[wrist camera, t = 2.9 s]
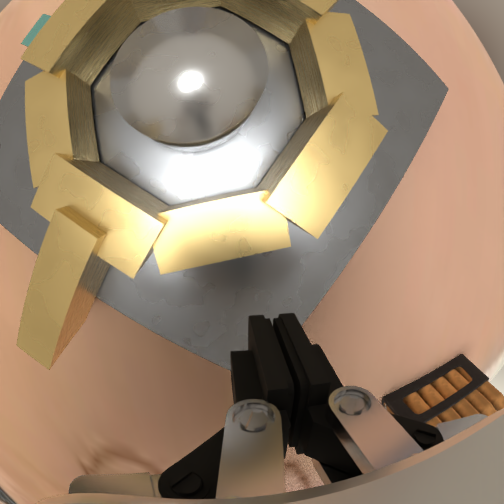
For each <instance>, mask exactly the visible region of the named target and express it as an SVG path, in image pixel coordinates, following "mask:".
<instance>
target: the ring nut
mask: <svg viewBox="0 0 504 504" xmlns="http://www.w3.org/2000/svg"><path fill="white" fill-rule="evenodd" d="M338 1H339V0H65V1H64V2H63V3H62V4H61V5H60V7H59V8H58V9H57V10H56V11H55V12H54V14H53V15H52V16H51V17H50V18H49V20H48V21H47V22H46V23H45V25H44V26H43V27H42V29H41V30H40V31H39V33H38V34H37V35H36V37H35V38H34V39H33V41H32V42H31V44H30V45H29V46H28V48H27V49H26V51H25V52H24V54H23V55H22V57H21V59H22V60H24V61H26V62H28V63H30V64H32V65H33V66H35V67H37V68H39V69H41V70H43V71H42V72H41V73H39V74H37V75H35V76H33V77H32V78H30V79H28V80H26V81H25V117H26V133H27V145H28V154H29V162H30V169H31V176H32V182H33V188H38V189H37V192H36V194H35V197H34V199H33V202H32V204H31V208H32V209H34V210H35V211H36V212H38V213H39V214H40V215H41V216H43V217H44V218H45V219H47V220H48V221H49V222H50V224H49V226H48V229H47V232H46V234H45V237H44V240H43V243H42V245H41V248H40V251H39V254H38V257H37V260H36V264H35V267H34V270H33V274H32V277H31V281H30V284H29V288H28V292H27V296H26V300H25V304H24V308H23V313H22V317H21V322H20V328H19V333H18V339H17V346H18V347H19V348H20V349H22V350H23V351H24V352H26V353H27V354H28V355H30V356H31V357H32V358H34V359H35V360H36V361H38V362H39V363H40V364H42V365H43V366H45V367H46V368H47V369H49V370H50V368H51V367H52V366H53V364H54V363H55V361H56V360H57V358H58V357H59V356H60V354H61V353H62V351H63V350H64V349H65V347H66V346H67V345H68V343H69V342H70V341H71V339H72V338H73V337H74V335H75V334H76V333H77V331H78V330H79V329H80V327H81V326H82V325H83V323H84V322H85V321H86V318H87V316H88V313H89V311H90V309H91V306H92V304H93V302H94V299H95V297H96V295H97V293H98V290H99V288H100V286H101V284H102V282H103V279H104V277H105V275H106V273H107V271H108V269H109V267H110V265H112V266H114V267H115V268H117V269H118V270H120V271H121V272H123V273H125V274H126V275H128V276H129V277H131V278H133V279H134V277H135V276H136V275H137V273H138V272H139V270H140V269H141V268H142V266H143V265H144V264H145V262H146V261H147V260H148V258H149V257H150V256H151V255H152V253H153V252H154V253H155V257H156V260H157V264H158V267H159V271H160V274H166V273H171V272H175V271H180V270H185V269H189V268H194V267H199V266H203V265H208V264H212V263H217V262H222V261H226V260H231V259H236V258H240V257H245V256H250V255H254V254H259V253H263V252H268V251H273V250H277V249H282V248H287V247H291V243H290V236H289V230H288V223H287V220H288V221H289V222H291V223H292V224H294V225H295V226H297V227H299V228H300V229H302V230H304V231H305V232H307V233H308V234H310V235H312V236H313V237H315V238H316V239H318V238H319V237H320V235H321V234H322V232H323V231H324V229H325V228H326V226H327V225H328V223H329V222H330V221H331V219H332V218H333V216H334V215H335V213H336V212H337V210H338V209H339V207H340V206H341V204H342V203H343V201H344V200H345V198H346V197H347V195H348V193H349V192H350V190H351V189H352V187H353V186H354V184H355V183H356V181H357V180H358V178H359V177H360V175H361V173H362V172H363V170H364V169H365V167H366V166H367V164H368V162H369V161H370V159H371V158H372V156H373V154H374V153H375V151H376V150H377V148H378V146H379V145H380V143H381V142H382V140H383V138H384V137H385V135H386V133H387V132H388V130H387V129H386V128H385V127H384V126H383V125H382V124H381V123H380V122H379V121H377V120H376V119H375V118H374V116H377V115H379V114H378V109H377V105H376V100H375V96H374V92H373V88H372V84H371V80H370V76H369V72H368V69H367V65H366V61H365V58H364V55H363V51H362V48H361V45H360V42H359V39H358V36H357V33H356V30H355V27H354V24H353V21H352V19H351V16H350V14H346V13H336V12H330V10H331V9H332V8H333V7H334V5H335V4H336V3H337V2H338ZM217 6H222V7H224V8H226V9H228V10H230V11H232V12H234V13H236V14H238V15H240V16H242V17H243V18H245V19H247V20H249V21H251V22H253V23H254V24H256V25H258V26H260V27H261V28H263V29H265V30H267V31H268V32H270V33H272V34H273V35H275V36H277V37H278V38H280V39H281V40H283V41H285V42H286V43H288V44H289V47H290V50H291V54H292V58H293V62H294V66H295V70H296V74H297V78H298V83H299V87H300V91H301V96H302V100H303V105H304V110H305V114H306V119H305V120H304V122H303V123H302V125H301V126H300V127H299V129H298V130H297V132H296V133H295V134H294V136H293V137H292V139H291V140H290V141H289V143H288V144H287V146H286V147H285V148H284V150H283V151H282V153H281V154H280V155H279V157H278V158H277V160H276V161H275V163H274V164H273V165H272V167H271V168H270V170H269V171H268V173H267V174H266V175H265V177H264V178H263V180H262V181H261V183H260V184H259V186H258V187H256V188H251V189H246V190H241V191H236V192H231V193H226V194H221V195H216V196H212V197H207V198H202V199H198V200H193V201H189V202H185V203H180V204H176V205H172V206H168V205H167V204H165V203H163V202H162V201H160V200H159V199H157V198H156V197H154V196H152V195H151V194H149V193H148V192H146V191H145V190H143V189H141V188H140V187H138V186H137V185H135V184H134V183H132V182H130V181H129V180H127V179H126V178H124V177H123V176H121V175H119V174H118V173H116V172H115V171H113V170H112V169H110V168H109V167H107V166H105V165H104V164H102V163H101V162H100V161H99V155H98V149H97V143H96V136H95V128H94V120H93V112H92V102H91V90H90V85H91V84H92V82H93V81H94V79H95V78H96V77H97V75H98V74H99V72H100V71H101V70H102V68H103V67H104V66H105V64H106V63H107V62H108V60H109V59H110V58H111V57H112V55H113V54H114V53H115V51H116V50H117V49H118V48H119V47H120V45H121V44H122V43H123V42H124V41H125V39H126V38H127V37H128V36H129V35H130V34H131V33H132V31H133V30H134V29H135V28H136V27H137V26H138V25H139V24H140V23H141V22H144V21H148V20H150V19H152V18H153V17H155V16H157V15H160V14H162V13H165V12H167V11H171V10H174V9H178V8H185V7H209V8H210V7H217Z"/></svg>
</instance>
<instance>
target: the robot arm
mask: <svg viewBox="0 0 504 504" xmlns="http://www.w3.org/2000/svg"><path fill="white" fill-rule="evenodd" d="M230 361H231V380H232V391H233V400H234V405H232V407H231V408H230V409H229V410H228V412H227V415H226V421H225V427H224V428H222V429H221V430H220V431H219V432H217V433H216V434H215V435H214V436H212V437H211V438H210V439H208V440H207V441H206V442H204V443H203V444H202V445H200V446H199V447H198V448H196V449H195V450H194V451H192V452H191V453H189V454H188V455H187V456H185V457H184V458H182V459H181V460H180V461H178V462H177V463H175V464H174V465H172V466H171V467H169V468H168V469H167V470H166V471H164V472H163V473H162V474H158V475H150V473H149V472H148V473H136V474H117V475H82V476H79V477H77V478H76V479H74V480H73V481H72V483H71V484H70V487H69V494H64V495H57V496H52V497H48V498H45V499H42V500H40V501H38V502H37V503H36V504H504V408H503V409H501V410H499V411H497V412H495V413H493V414H492V415H490V416H486V415H483V414H474V415H471V416H467V417H464V418H460V419H456V420H452V421H448V422H443V423H439V424H437V425H436V426H435V427H434V426H432V425H430V424H427V423H423V422H419V421H416V420H412V419H408V418H405V417H401V416H398V415H395V414H391V413H389V412H388V411H387V410H386V409H385V408H384V407H383V405H382V404H381V403H380V402H379V401H378V400H377V399H376V398H375V397H374V396H373V394H371V393H370V392H369V391H368V390H366V389H363V388H361V387H357V386H345V387H343V385H342V384H341V382H340V380H339V378H338V377H337V375H336V373H335V371H334V370H333V368H332V366H331V364H330V363H329V361H328V359H327V357H326V356H325V354H324V352H323V350H322V349H321V347H320V346H319V345H318V344H313V345H311V343H310V341H309V339H308V338H307V336H306V334H305V332H304V330H303V328H302V326H301V324H300V323H299V321H298V319H297V317H296V315H295V314H294V313H284V314H279V315H278V318H274V319H273V326H272V323H271V320H270V318H265V317H264V315H250V316H248V350H242V351H230ZM287 444H289V447H295V450H296V453H297V454H303V453H304V454H305V455H306V456H308V457H311V458H312V463H313V466H314V467H315V469H316V471H317V473H318V474H319V476H320V478H321V480H322V481H323V483H324V485H322V486H318V487H313V488H309V489H303V490H298V491H293V492H287V493H286V490H285V472H284V459H285V455H286V450H287Z"/></svg>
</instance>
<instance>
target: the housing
mask: <svg viewBox="0 0 504 504" xmlns="http://www.w3.org/2000/svg"><path fill="white" fill-rule="evenodd" d="M330 12H336V13H346V14H350V16H351V19H352V21H353V24H354V27H355V30H356V33H357V36H358V39H359V42H360V45H361V48H362V51H363V55H364V58H365V61H366V65H367V69H368V72H369V76H370V80H371V84H372V88H373V92H374V96H375V100H376V105H377V109H378V114H379V115H377V116H374V118H375V119H376V120H377V121H379V122H380V123H381V124H382V125H383V126H384V127H385V128H386V129H387V130H388V132H387V133H386V135H385V137H384V138H383V140H382V142H381V143H380V145H379V146H378V148H377V150H376V151H375V153H374V154H373V156H372V158H371V159H370V161H369V162H368V164H367V166H366V167H365V169H364V170H363V172H362V173H361V175H360V177H359V178H358V180H357V181H356V183H355V184H354V186H353V187H352V189H351V190H350V192H349V193H348V195H347V197H346V198H345V200H344V201H343V203H342V204H341V206H340V207H339V209H338V210H337V212H336V213H335V215H334V216H333V218H332V219H331V221H330V222H329V223H328V225H327V226H326V228H325V229H324V231H323V232H322V234H321V235H320V237H319V238H318V239H316V238H315V237H313V236H312V235H310V234H308V233H307V232H305V231H304V230H302V229H300V228H299V227H297V226H295V225H294V224H292V223H291V222H289V221H288V220H287V223H288V230H289V236H290V243H291V247H287V248H282V249H277V250H273V251H268V252H263V253H259V254H254V255H250V256H245V257H240V258H236V259H231V260H226V261H222V262H217V263H212V264H208V265H203V266H199V267H194V268H189V269H185V270H180V271H175V272H171V273H166V274H160V271H159V267H158V264H157V260H156V257H155V253H154V252H153V253H152V255H151V256H150V257H149V258H148V260H147V261H146V262H145V264H144V265H143V266H142V268H141V269H140V270H139V272H138V273H137V275H136V276H135V277H134V279H133V278H131V277H129V276H128V275H126V274H125V273H123V272H121V271H120V270H118V269H117V268H115V267H114V266H112V265H110V267H109V269H108V271H107V273H106V275H105V277H104V279H103V282H102V284H101V286H100V288H99V290H98V293H97V295H96V297H97V298H98V299H100V300H101V301H103V302H105V303H106V304H108V305H109V306H111V307H112V308H114V309H116V310H117V311H119V312H121V313H122V314H124V315H125V316H127V317H129V318H130V319H132V320H134V321H135V322H137V323H139V324H141V325H142V326H144V327H146V328H148V329H149V330H151V331H153V332H155V333H156V334H158V335H160V336H162V337H164V338H166V339H167V340H169V341H171V342H173V343H175V344H177V345H179V346H181V347H183V348H184V349H186V350H188V351H190V352H192V353H194V354H196V355H198V356H200V357H202V358H204V359H207V360H209V361H211V362H213V363H215V364H217V365H219V366H221V367H224V368H226V369H228V370H230V371H231V361H230V351H242V350H248V316H250V315H264V317H265V318H270V320H271V323H272V326H273V319H274V318H278V315H279V314H284V313H294V314H295V315H296V317H297V319H298V321H299V323H300V324H301V326H302V324H303V323H304V322H305V321H306V319H307V318H308V317H309V315H310V314H311V313H312V312H313V310H314V309H315V308H316V306H317V305H318V304H319V302H320V301H321V300H322V298H323V297H324V296H325V294H326V293H327V292H328V290H329V289H330V287H331V286H332V285H333V283H334V282H335V281H336V279H337V278H338V276H339V275H340V274H341V272H342V271H343V269H344V268H345V266H346V265H347V264H348V262H349V261H350V259H351V258H352V256H353V255H354V253H355V252H356V250H357V249H358V248H359V246H360V245H361V243H362V242H363V240H364V239H365V237H366V236H367V234H368V232H369V231H370V229H371V228H372V226H373V225H374V223H375V222H376V220H377V219H378V217H379V215H380V214H381V212H382V211H383V209H384V207H385V206H386V204H387V203H388V201H389V199H390V198H391V196H392V194H393V193H394V191H395V189H396V188H397V186H398V184H399V183H400V181H401V179H402V178H403V176H404V174H405V172H406V171H407V169H408V167H409V165H410V164H411V162H412V160H413V158H414V156H415V155H416V153H417V151H418V149H419V147H420V145H421V144H422V142H423V140H424V138H425V136H426V134H427V132H428V130H429V128H430V126H431V124H432V122H433V120H434V118H435V116H436V114H437V112H438V110H439V108H440V106H441V104H442V102H443V100H444V98H445V96H446V94H447V91H448V88H447V86H446V85H445V84H444V83H443V82H442V80H441V79H440V78H439V77H438V76H437V75H436V73H435V72H434V71H433V70H432V69H431V68H430V67H429V66H428V65H427V63H426V62H425V61H424V60H423V59H422V58H421V57H420V56H419V55H418V54H417V53H416V52H415V51H414V50H413V49H412V48H411V47H410V46H409V45H408V44H407V43H406V42H405V41H404V40H403V39H402V38H401V37H399V36H398V35H397V34H396V33H395V32H394V31H393V30H392V29H391V28H389V27H388V26H387V25H386V24H385V23H384V22H382V21H381V20H380V19H379V18H378V17H376V16H375V15H374V14H373V13H371V12H370V11H369V10H368V9H366V8H365V7H364V6H362V5H361V4H360V3H358V2H357V1H356V0H339V1H338V2H337V3H336V4H335V5H334V7H333V8H332V9H331V10H330ZM50 17H51V16H49V15H46V14H43V15H42V16H41V18H40V19H39V20H38V21H37V23H36V24H35V25H34V27H33V28H32V29H31V31H30V32H29V33H28V35H27V36H26V37H25V39H24V40H23V42H22V43H21V44H23V45H25V46H27V47H28V46H29V45H30V44H31V42H32V41H33V39H34V38H35V37H36V35H37V34H38V33H39V31H40V30H41V29H42V27H43V26H44V25H45V23H46V22H47V21H48V20H49V18H50ZM42 71H43V70H41V69H39V68H37V67H35V66H33V65H32V64H30V63H28V62H26V61H24V60H23V62H22V63H21V65H20V66H19V68H18V70H17V71H16V73H15V75H14V76H13V78H12V80H11V81H10V83H9V85H8V87H7V89H6V90H5V92H4V94H3V96H2V98H1V100H0V224H1V225H2V226H4V227H5V228H6V229H7V230H8V231H9V232H10V233H12V234H13V235H14V236H15V237H16V238H17V239H19V240H20V241H21V242H22V243H23V244H25V245H26V246H27V247H28V248H30V249H31V250H32V251H33V252H35V253H36V254H37V255H38V254H39V251H40V248H41V245H42V243H43V240H44V237H45V234H46V232H47V229H48V226H49V224H50V222H49V221H48V220H47V219H45V218H44V217H43V216H41V215H40V214H39V213H38V212H36V211H35V210H34V209H32V208H31V204H32V202H33V199H34V197H35V194H36V192H37V189H38V188H33V182H32V176H31V169H30V162H29V154H28V145H27V133H26V117H25V81H26V80H28V79H30V78H32V77H33V76H35V75H37V74H39V73H41V72H42ZM90 90H91V102H92V112H93V120H94V128H95V136H96V143H97V149H98V155H99V161H100V162H101V163H102V164H104V165H105V166H107V167H109V168H110V169H112V170H113V171H115V172H116V173H118V174H119V175H121V176H123V177H124V178H126V179H127V180H129V181H130V182H132V183H134V184H135V185H137V186H138V187H140V188H141V189H143V190H145V191H146V192H148V193H149V194H151V195H152V196H154V197H156V198H157V199H159V200H160V201H162V202H163V203H165V204H167V205H168V206H172V205H176V204H180V203H185V202H189V201H193V200H198V199H202V198H207V197H212V196H216V195H221V194H226V193H231V192H236V191H241V190H246V189H251V188H256V187H258V186H259V184H260V183H261V181H262V180H263V178H264V177H265V175H266V174H267V173H268V171H269V170H270V168H271V167H272V165H273V164H274V163H275V161H276V160H277V158H278V157H279V155H280V154H281V153H282V151H283V150H284V148H285V147H286V146H287V144H288V143H289V141H290V140H291V139H292V137H293V136H294V134H295V133H296V132H297V130H298V129H299V127H300V126H301V125H302V123H303V122H304V120H305V119H306V114H305V110H304V105H303V100H302V96H301V91H300V87H299V83H298V78H297V74H296V70H295V66H294V62H293V58H292V54H291V50H290V47H289V44H288V43H286V42H285V41H283V40H281V39H280V38H278V37H277V36H275V35H273V34H272V33H270V32H268V31H267V30H265V29H263V28H261V27H260V26H258V25H256V24H254V23H253V22H251V21H249V20H247V19H245V18H243V17H242V16H240V15H238V14H236V13H234V12H232V11H230V10H228V9H226V8H224V7H222V6H217V7H210V8H209V7H185V8H178V9H174V10H171V11H167V12H165V13H162V14H160V15H157V16H155V17H153V18H152V19H150V20H148V21H144V22H141V23H140V24H139V25H138V26H137V27H136V28H135V29H134V30H133V31H132V33H131V34H130V35H129V36H128V37H127V38H126V39H125V41H124V42H123V43H122V44H121V45H120V47H119V48H118V49H117V50H116V51H115V53H114V54H113V55H112V57H111V58H110V59H109V60H108V62H107V63H106V64H105V66H104V67H103V68H102V70H101V71H100V72H99V74H98V75H97V77H96V78H95V79H94V81H93V82H92V84H91V85H90Z"/></svg>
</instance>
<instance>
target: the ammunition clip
mask: <svg viewBox="0 0 504 504" xmlns="http://www.w3.org/2000/svg"><path fill="white" fill-rule="evenodd" d="M488 380H489V378H488V377H487V376H486V375H485V374H484V373H483V372H482V371H480V370H479V369H478V368H477V367H476V366H475V365H474V364H473V363H472V362H471V361H470V360H468V359H467V358H466V357H465V356H464V355H463V354H460V355H459V356H457V357H456V358H454V359H452V360H451V361H449V362H447V363H446V364H444V365H443V366H441V367H439V368H437V369H436V370H434V371H432V372H430V373H429V374H427V375H425V376H423V377H421V378H420V379H418V380H416V381H414V382H412V383H410V384H408V385H406V386H404V387H402V388H400V389H398V390H396V391H394V392H392V393H390V394H388V395H386V396H383V398H382V405H383V407H384V408H385V409H386V410H387V411H388V412H389V413H391V414H395V415H398V416H401V417H405V418H408V419H412V420H416V421H419V422H423V423H427V424H430V425H432V426H434V427H435V426H436V425H437V424H439V423H443V422H448V421H452V420H456V419H460V418H464V417H467V416H471V415H474V414H483V415H486V416H490V415H492V414H493V413H495V412H497V411H499V410H501V409H503V408H504V396H503V395H502V393H501V392H499V391H498V390H497V389H496V388H495V387H494V386H493V385H491V384H490V383H489V382H488Z"/></svg>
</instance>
